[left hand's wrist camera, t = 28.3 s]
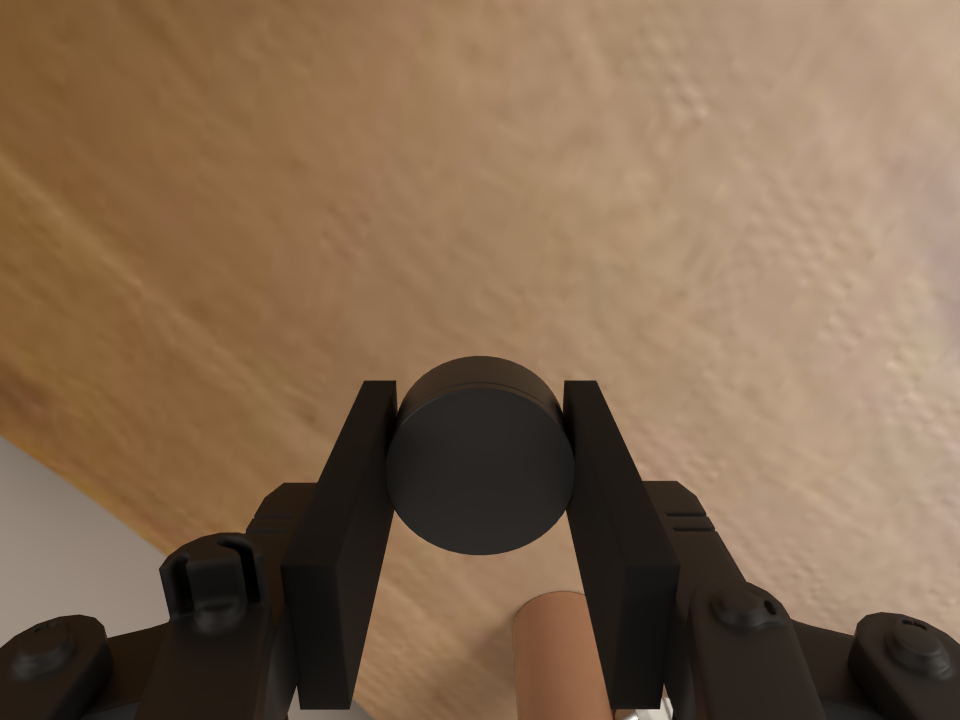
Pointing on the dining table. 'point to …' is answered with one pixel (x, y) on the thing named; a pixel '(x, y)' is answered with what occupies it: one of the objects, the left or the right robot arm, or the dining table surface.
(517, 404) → the cap
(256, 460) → the dining table surface
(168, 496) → the dining table surface
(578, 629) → the bottle
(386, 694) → the dining table surface
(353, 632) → the left robot arm
